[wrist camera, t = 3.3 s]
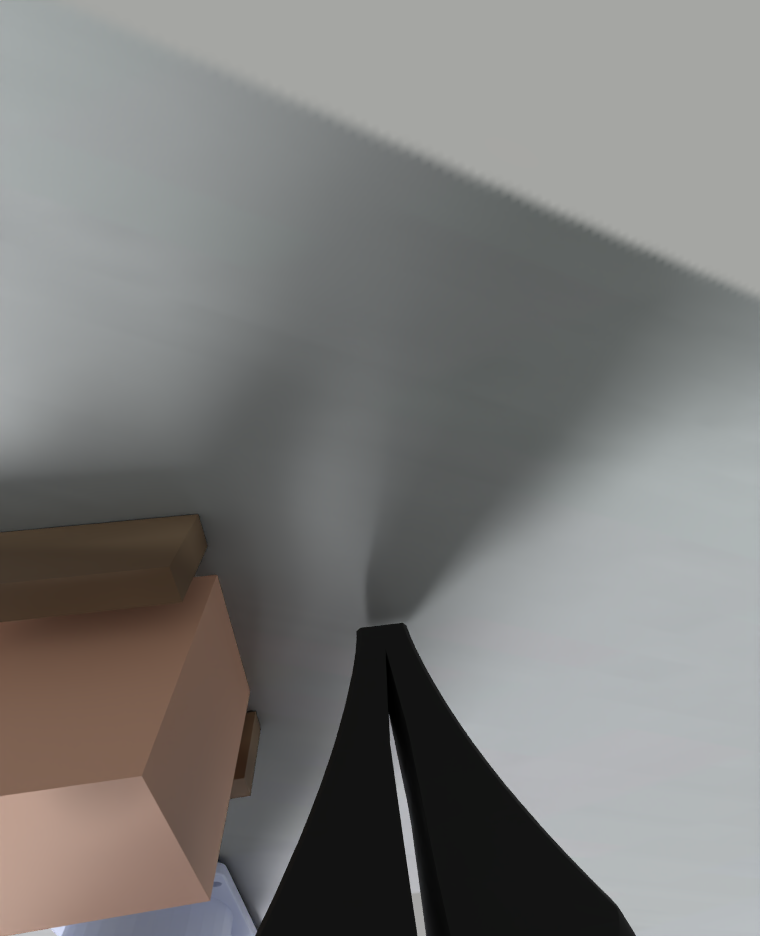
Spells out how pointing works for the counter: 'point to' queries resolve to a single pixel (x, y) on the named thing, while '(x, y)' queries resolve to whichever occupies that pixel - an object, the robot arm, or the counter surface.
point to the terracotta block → (116, 758)
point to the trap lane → (110, 582)
